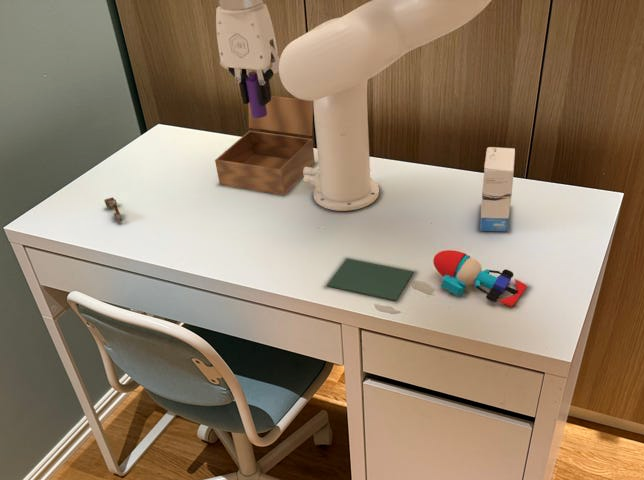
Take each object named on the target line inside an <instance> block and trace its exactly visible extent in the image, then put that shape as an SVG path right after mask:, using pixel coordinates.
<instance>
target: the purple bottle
mask: <svg viewBox="0 0 644 480" xmlns="http://www.w3.org/2000/svg"><path fill="white" fill-rule="evenodd" d="M258 84H259V80H258V76H257V72H256V71H255V70H253V71H248V77H247V78H246V85H247V91H248V97H249V103H250V109H251V115H252V117H254V118H262V117H264V116H266V115H267V110H266V105H265V106H261V105H260V103H259V96H258V90H257V85H258Z"/></svg>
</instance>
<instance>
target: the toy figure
mask: <svg viewBox="0 0 644 480" xmlns="http://www.w3.org/2000/svg"><path fill="white" fill-rule="evenodd" d="M432 263H433V266H434V269H435V270H436V271H437V272H438V273H439V275H441V276H442V277H443V278H442V282H441V288H443V289H444V290H445V291H448V292H450V293H452V294H453V295H455V296H457V297H462V296H463V293H465V291H466V286H471V285H474V289H477V290H478V291H480V292H482V293H483V294H486V295H485V298H486V299H487V300H488V301H489V302H490V301H491V302H492V303H496V302H499V303H501V304H503V305H505V306H508V307H513V306H514V305H515V304H516V303H517V302H518V301H519V298H520V296H521V295H523V293H524V292H525V291H526V289H527V288H528V286H527V285H526V283H524V282H522V281H520V280H518V279H516V278H514V282H515V288H513V287H510V286H509V285H510V282H511V280H512V278H513V277H514V272H513V271H512V270H509V269H506V268H505V269H503V270H502V271H501V272H500V271H499V270H492V269H488V268H487V269H484V270H482V265H481V263H480V262H479V261H478V260H477V259H476V258H473V257H471V256H470V255H469V254H467V253H465V252H462V251H459V250H455V249H454V250H453V249H447V250H446V249H445V250H440V251H438V252H437V253H436V254H435V255H434V256H433V260H432ZM490 273H493V274H498V276H495V275H492V274H490ZM480 286H481V287H480ZM482 287H484V288H487V289H488V290H489V291H487V290H486V289H484V288H482ZM505 292H506V293H507V292H508V293H510V294H512V295H510V296H507V297H505V298H502V299H500V298H501V296H502V295H504V293H505Z"/></svg>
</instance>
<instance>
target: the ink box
mask: <svg viewBox="0 0 644 480" xmlns="http://www.w3.org/2000/svg"><path fill="white" fill-rule="evenodd" d="M515 149H516V148H513V147H497V146H488V147H487V148H486V152H485V161H484V165H483V168H484V169H483V170H484V171H483V179H482V189H481V191H482V192H481V203H480V204H481V205H480V222H479V223H480V225H479V231H482V232H508V230H509V220H510V212H511V211H510V210H511V205H512V204H511V203H512V194H513V183H514V173H515V172H514V171H515V156H516V150H515Z"/></svg>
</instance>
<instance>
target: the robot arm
mask: <svg viewBox="0 0 644 480" xmlns="http://www.w3.org/2000/svg"><path fill="white" fill-rule="evenodd" d="M491 2H492V0H370V1H368V2H366V3H364V4H362V5H360V6H359V7H356V8H355V9H353V10H352V11H350V12H347V14H344V15H343V16H341V17H335V18H331V19H329V20H326V21H325V22H323V23H320V24H319V25H317V26H315V27H314V28H312V29H310V30H309V31H307V32H306V33H304V34H303V35H301V36H299V37H297V38H296V39H294V40H292V41H290V42H289V43H288V44H287V45H286V46H285V47H284V49H283V51H282V52H281V55H280V56H279V55H278V46H277V45H278V44H277V39H276V35H275V29H274V25H273V22H272V19H271V14H270V12H269V9H268V6H267V4H266V3H264V1H263V0H218V4H219V6H218V7H216V8H215V9H216V10H215V13H216V14H215V28H216V30H215V31H216V40H217V47H218V55H219V65H220V66H221V67H222V68H224V69H225V70H227V71H228V72H229V73H230V74H231V75H232V76H233V77H234V79H235V82H236V83H238V86H239V91H240V96H241V98H242V104H243V105H247V104H248V103H249V97H248V91H247V85H246V78H247V77H249V74H248V73H249V70H250V71H251V70H253V71H255V72H257V76H258V80H259V84H258V85H257V90H258V96H259V103H260V105H261V106H265V105H266V104H267V103H268V102H270V101H271V96H272V91H271V85H270V81H271V80H272V78H273V76H275V75H276V74H277V73H278V74H279V79H280V82H281V84H282V85H283V88H284V89H285V90H286V91H287V92H288V93H289V94H290V95H292V96H293V97H295V98H296V99H301V100H307V101H313V117H314V118H313V121H314V128H315V129H314V130H315V141H316V150H317V160H318V161H317V162H318V168H315V167H313V166H312V167H304V169H303V176H302V178H303V179H302V180H303V182H304V183H307V184H314V185H315V187H314V189H313V199H314V201H315V203H316V204H317V205H319V206H321V207H322V208H325V209H327V210H330V211H339V212H347V211H348V212H349V211H353V210H354V211H355V210H359V209H362V208H366V207H368V206H369V205H371V204H373V203H374V202H375V201H376V200H377V199H378V197H379V195H380V185H379V184H378V182H377V181H376V180H375V179H374V178H372V177H371V162H370V159H371V158H370V139H369V138H370V137H369V117H368V115H369V114H368V113H369V112H368V110H369V109H368V82H369V81H368V80H370V79H372V78H373V77H375V76H377V75H378V74H379V73H381V72H382V71H384V70H385V69H387V68H388V67H390V66H391V65H392V64H394V63H395V62H396V61H398V60H399V59H400V58H402V57H403V56H404V55H405V54H407V53H409V52H411V51H413V50H415V49H418V48H419V47H422V46H424V45H426V44H429V43H431V42H433V41H435V40H437V39H439V38H441V37H443V36H445V35H447V34H450V33H452V32H453V31H455V30H457V29H459V28H460V27H462V26H464V25H466V24H467V23H469V22H470V21H472V20H473V19H475V18H476V16H478V15H479V14H481V12H483V10H484V9H486V7H487V6H488V5H489V4H490V3H491ZM270 65H272V66H271V67H270Z"/></svg>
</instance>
